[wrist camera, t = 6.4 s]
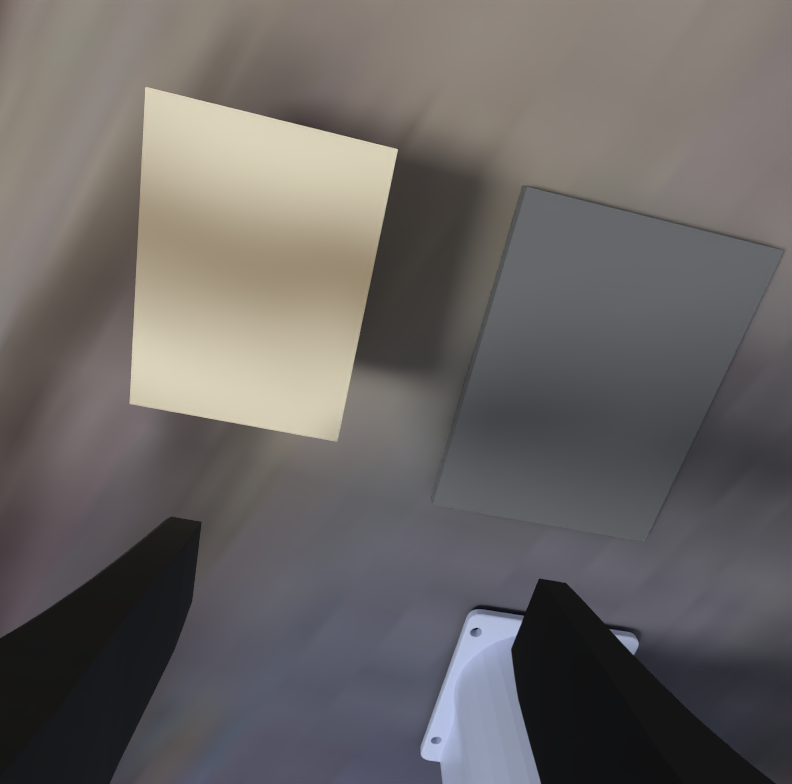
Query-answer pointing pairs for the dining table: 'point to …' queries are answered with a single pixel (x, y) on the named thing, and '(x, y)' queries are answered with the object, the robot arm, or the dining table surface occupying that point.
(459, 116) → the dining table surface
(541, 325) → the mat
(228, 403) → the block
